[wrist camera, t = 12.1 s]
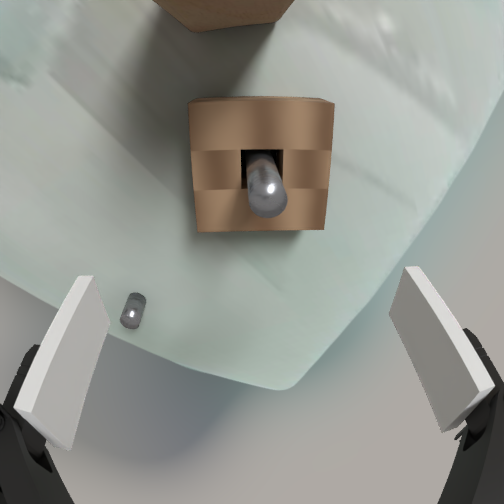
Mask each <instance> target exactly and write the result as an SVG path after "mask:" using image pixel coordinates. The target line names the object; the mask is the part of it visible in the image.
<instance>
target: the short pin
mask: <svg viewBox="0 0 504 504" xmlns="http://www.w3.org/2000/svg"><path fill="white" fill-rule="evenodd" d="M145 305H146V299H145V297H144V296H143V295H141V294H139V293H131V294H130V295H129V297H128V299H127V302H126V305H125V307H124V310H123V312H122V315H121V318H120V322H121V324H122V325H123V326H124V327H126V328H128V329H136V328H138V326H139V324H140V320H141V317H142V314H143V311H144V308H145Z"/></svg>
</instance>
